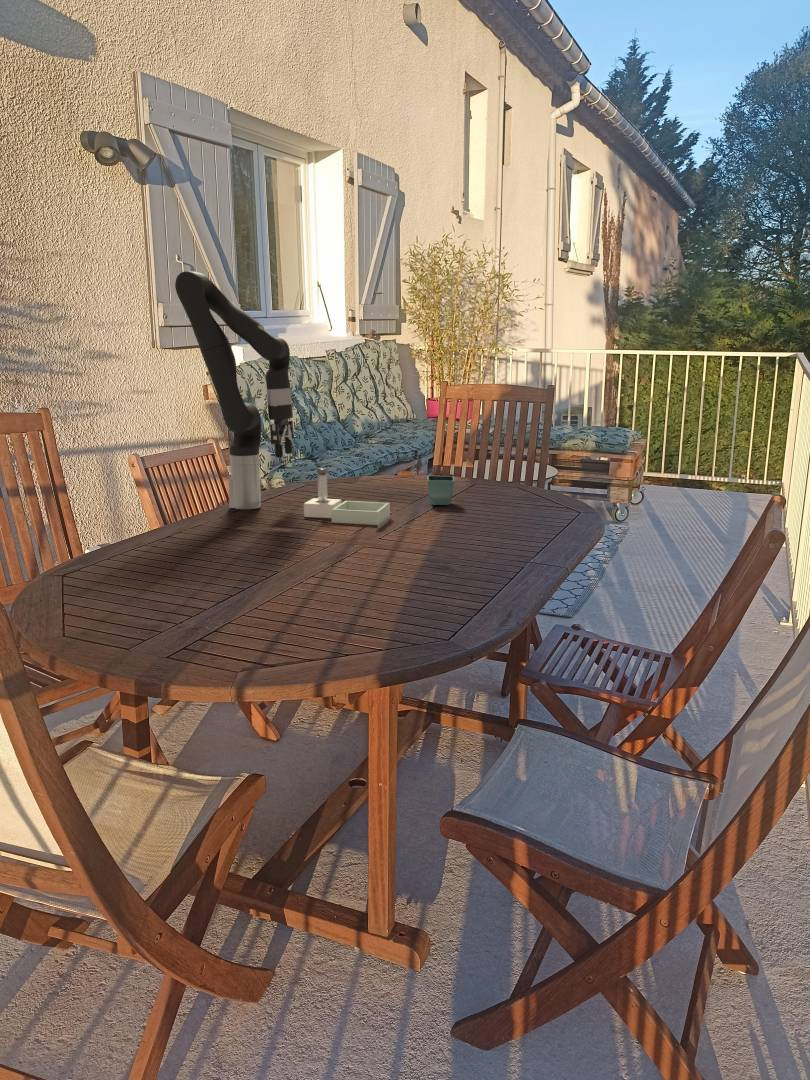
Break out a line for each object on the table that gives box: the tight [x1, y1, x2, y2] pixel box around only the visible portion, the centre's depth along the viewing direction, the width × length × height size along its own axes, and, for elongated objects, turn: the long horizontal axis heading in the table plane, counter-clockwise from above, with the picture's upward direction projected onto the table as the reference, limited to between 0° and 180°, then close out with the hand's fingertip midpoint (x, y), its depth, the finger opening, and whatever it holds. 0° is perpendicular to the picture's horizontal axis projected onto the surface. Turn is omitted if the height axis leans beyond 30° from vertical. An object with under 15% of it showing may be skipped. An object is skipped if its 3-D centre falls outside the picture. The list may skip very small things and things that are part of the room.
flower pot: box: [427, 475, 456, 506], centre depth 277 cm, size 9×9×9 cm
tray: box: [331, 500, 391, 529], centre depth 251 cm, size 14×14×5 cm
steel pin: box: [316, 467, 329, 503], centre depth 255 cm, size 3×3×14 cm
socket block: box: [303, 497, 342, 519], centre depth 256 cm, size 9×9×5 cm
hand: (284, 455), depth 265 cm, fingers open, 8 cm apart
